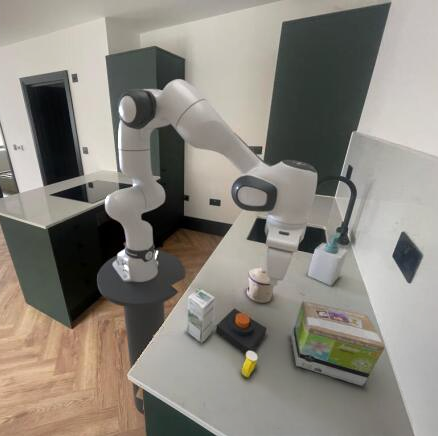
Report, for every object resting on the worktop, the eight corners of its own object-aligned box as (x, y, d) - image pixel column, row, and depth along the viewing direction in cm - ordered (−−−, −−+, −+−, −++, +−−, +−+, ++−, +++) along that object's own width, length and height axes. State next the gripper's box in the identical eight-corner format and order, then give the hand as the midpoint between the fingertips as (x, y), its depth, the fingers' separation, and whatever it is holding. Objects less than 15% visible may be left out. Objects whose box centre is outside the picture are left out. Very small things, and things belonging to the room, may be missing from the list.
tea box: (295, 368, 61) (308, 327, 55) (290, 336, 70) (301, 299, 64) (364, 388, 56) (386, 346, 50) (350, 352, 65) (367, 312, 59)
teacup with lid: (250, 283, 92) (254, 259, 88) (274, 293, 87) (280, 267, 82) (239, 300, 84) (242, 274, 79) (265, 312, 78) (270, 285, 74)
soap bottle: (338, 277, 95) (352, 236, 87) (331, 286, 90) (345, 243, 82) (315, 267, 101) (327, 228, 94) (307, 275, 96) (318, 235, 89)
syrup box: (212, 332, 72) (215, 296, 66) (201, 344, 68) (203, 307, 62) (198, 322, 75) (199, 286, 70) (186, 333, 72) (187, 296, 66)
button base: (215, 332, 72) (216, 320, 70) (233, 315, 78) (234, 303, 76) (248, 357, 64) (250, 344, 62) (265, 335, 70) (267, 323, 68)
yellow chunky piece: (248, 383, 58) (251, 368, 55) (238, 375, 59) (240, 360, 57) (258, 366, 61) (262, 351, 59) (248, 359, 63) (251, 344, 61)
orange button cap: (232, 322, 69) (233, 317, 68) (239, 315, 72) (240, 310, 71) (244, 331, 66) (245, 325, 66) (251, 323, 69) (252, 318, 68)
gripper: (275, 211, 67) (267, 252, 72) (265, 242, 50) (256, 292, 56) (300, 215, 64) (289, 257, 69) (298, 249, 48) (284, 301, 53)
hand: (274, 273), depth 63 cm, fingers open, 8 cm apart
